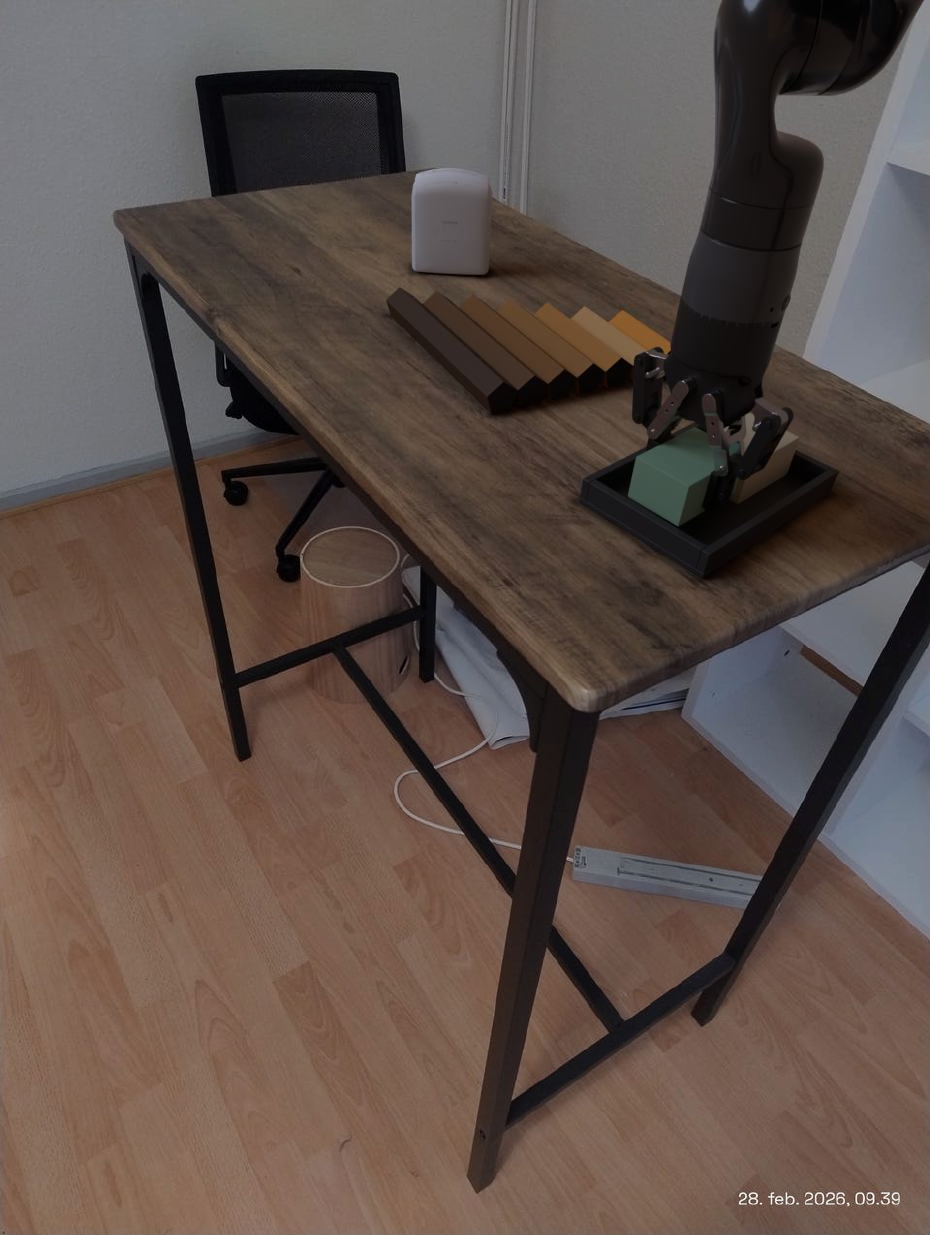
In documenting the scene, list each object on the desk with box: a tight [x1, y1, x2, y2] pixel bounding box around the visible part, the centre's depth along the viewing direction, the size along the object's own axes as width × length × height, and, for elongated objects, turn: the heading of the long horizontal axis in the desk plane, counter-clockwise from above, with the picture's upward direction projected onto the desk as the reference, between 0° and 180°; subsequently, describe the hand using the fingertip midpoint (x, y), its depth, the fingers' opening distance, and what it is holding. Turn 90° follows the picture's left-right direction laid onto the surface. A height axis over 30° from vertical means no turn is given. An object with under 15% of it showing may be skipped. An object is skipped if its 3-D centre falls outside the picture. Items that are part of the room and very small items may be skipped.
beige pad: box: [724, 412, 801, 504], centre depth 79 cm, size 6×8×4 cm
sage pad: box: [628, 427, 739, 526], centre depth 74 cm, size 6×8×4 cm
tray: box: [578, 421, 840, 579], centre depth 78 cm, size 14×20×2 cm
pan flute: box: [385, 286, 671, 415], centre depth 99 cm, size 25×3×25 cm
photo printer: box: [411, 167, 493, 276], centre depth 111 cm, size 10×4×12 cm, turn 88°
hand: (683, 489), depth 75 cm, fingers closed on sage pad, 5 cm apart
